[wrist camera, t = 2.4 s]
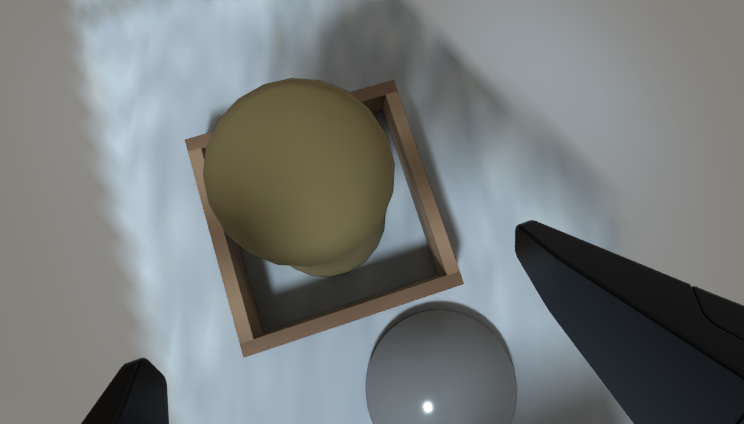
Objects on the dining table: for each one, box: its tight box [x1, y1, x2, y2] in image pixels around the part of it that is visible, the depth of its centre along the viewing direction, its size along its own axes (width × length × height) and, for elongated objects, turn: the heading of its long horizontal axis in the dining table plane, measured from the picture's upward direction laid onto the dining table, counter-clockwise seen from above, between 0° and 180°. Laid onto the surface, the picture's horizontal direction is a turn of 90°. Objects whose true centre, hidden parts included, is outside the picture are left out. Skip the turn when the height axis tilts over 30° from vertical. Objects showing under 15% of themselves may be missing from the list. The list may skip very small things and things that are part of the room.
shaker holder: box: [185, 80, 464, 357], centre depth 20 cm, size 10×10×2 cm
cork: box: [203, 78, 395, 277], centre depth 15 cm, size 6×6×11 cm
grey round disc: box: [366, 310, 517, 424], centre depth 19 cm, size 7×7×1 cm
